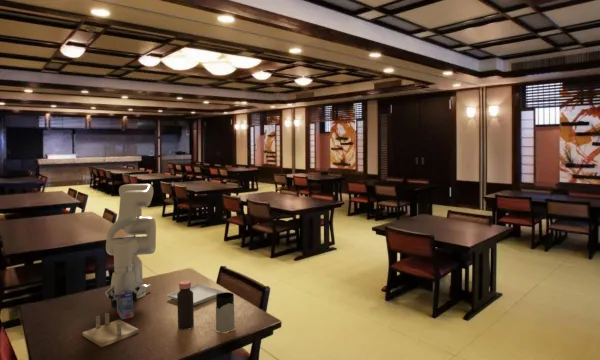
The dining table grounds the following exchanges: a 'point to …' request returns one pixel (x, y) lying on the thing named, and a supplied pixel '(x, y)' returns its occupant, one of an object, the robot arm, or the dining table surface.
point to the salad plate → (199, 293)
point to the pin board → (109, 331)
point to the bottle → (185, 306)
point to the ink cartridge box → (125, 305)
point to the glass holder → (224, 312)
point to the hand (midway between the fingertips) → (124, 304)
